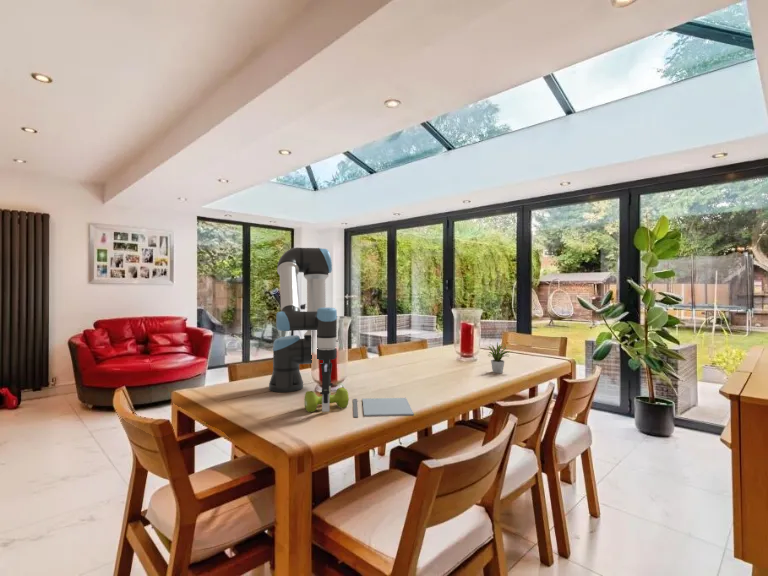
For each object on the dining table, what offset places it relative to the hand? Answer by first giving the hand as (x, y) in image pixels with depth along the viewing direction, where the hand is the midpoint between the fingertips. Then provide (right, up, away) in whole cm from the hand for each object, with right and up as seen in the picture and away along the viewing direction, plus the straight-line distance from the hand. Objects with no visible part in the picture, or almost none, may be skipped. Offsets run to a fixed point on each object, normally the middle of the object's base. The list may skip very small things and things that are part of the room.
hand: (326, 406), depth 151 cm
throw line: (+11, -1, +1) cm, 11 cm away
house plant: (+83, -1, +63) cm, 104 cm away
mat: (+23, -1, +2) cm, 23 cm away
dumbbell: (0, -1, 0) cm, 1 cm away
